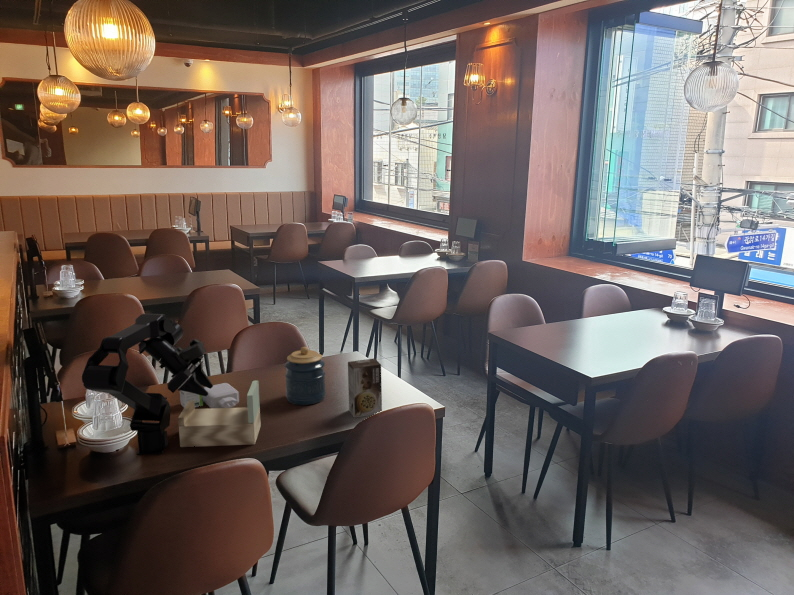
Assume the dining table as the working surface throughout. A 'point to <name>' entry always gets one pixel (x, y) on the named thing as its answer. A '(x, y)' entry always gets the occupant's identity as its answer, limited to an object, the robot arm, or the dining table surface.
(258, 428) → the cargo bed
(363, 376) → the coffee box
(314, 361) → the canister
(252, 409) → the pale green flat block
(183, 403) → the syrup box
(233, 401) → the charger
